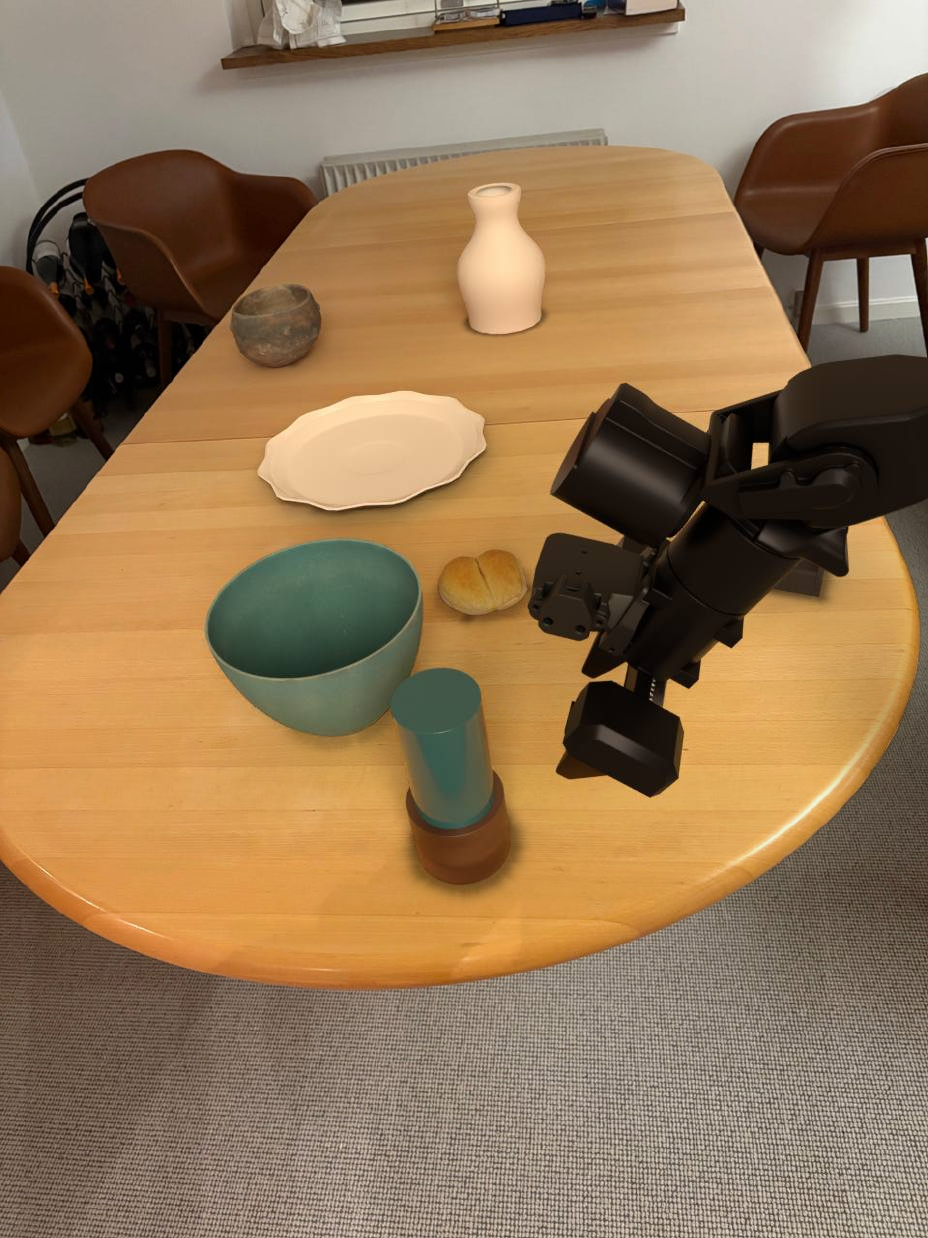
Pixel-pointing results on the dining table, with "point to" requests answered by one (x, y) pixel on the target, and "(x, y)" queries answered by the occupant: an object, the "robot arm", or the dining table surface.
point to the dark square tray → (803, 579)
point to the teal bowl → (320, 633)
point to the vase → (500, 264)
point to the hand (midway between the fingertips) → (575, 721)
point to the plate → (373, 451)
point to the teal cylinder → (444, 746)
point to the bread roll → (483, 582)
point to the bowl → (276, 324)
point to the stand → (463, 843)
